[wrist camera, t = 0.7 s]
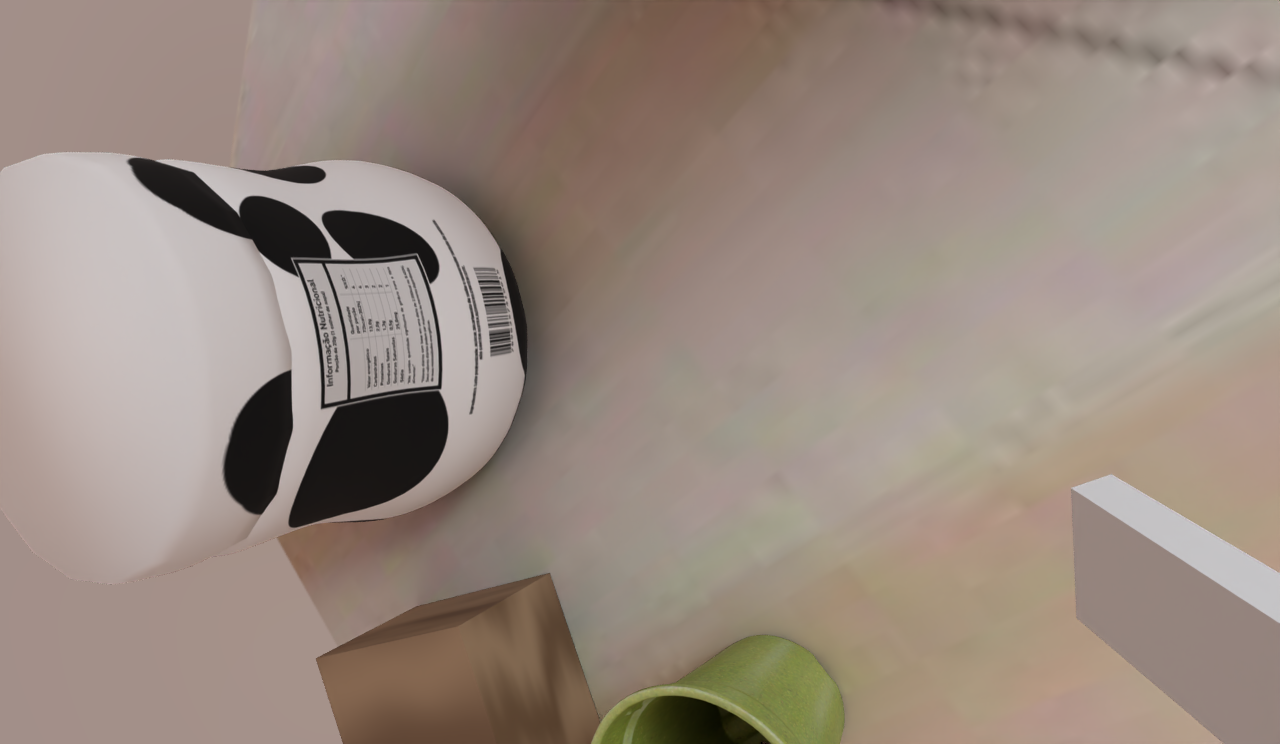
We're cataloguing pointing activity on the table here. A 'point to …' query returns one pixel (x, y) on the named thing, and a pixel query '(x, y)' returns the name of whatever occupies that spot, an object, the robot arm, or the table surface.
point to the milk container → (239, 354)
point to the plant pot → (735, 701)
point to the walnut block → (465, 673)
